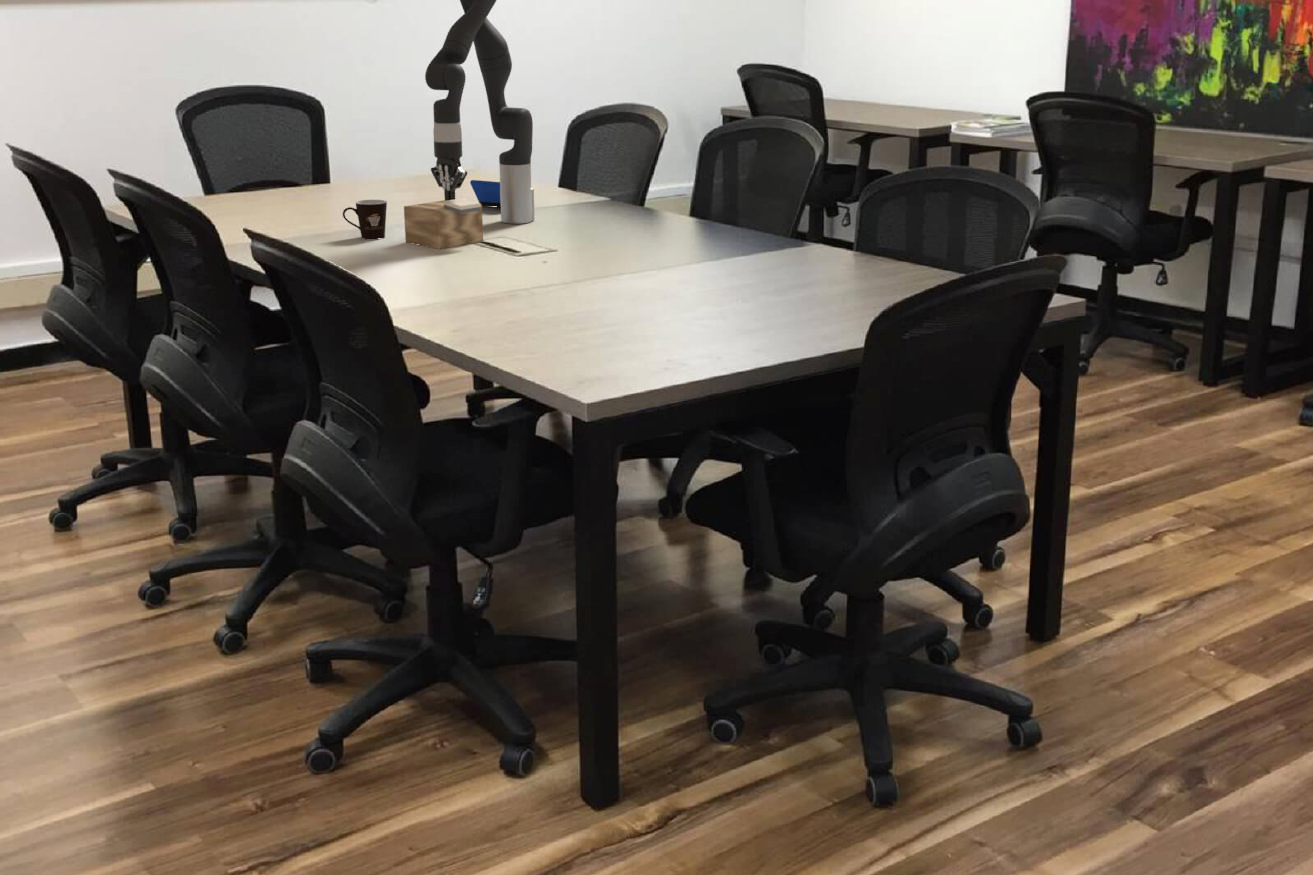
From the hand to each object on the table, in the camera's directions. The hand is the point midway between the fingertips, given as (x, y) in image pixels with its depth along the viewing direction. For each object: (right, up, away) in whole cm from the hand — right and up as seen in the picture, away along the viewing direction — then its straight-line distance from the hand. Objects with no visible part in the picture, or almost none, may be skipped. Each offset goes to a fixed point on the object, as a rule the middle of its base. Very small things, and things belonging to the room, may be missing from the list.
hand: (450, 203), depth 406 cm
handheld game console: (+8, +8, +62) cm, 64 cm away
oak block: (-2, -10, +5) cm, 11 cm away
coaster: (+4, -2, -3) cm, 5 cm away
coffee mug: (-25, -8, +12) cm, 28 cm away
